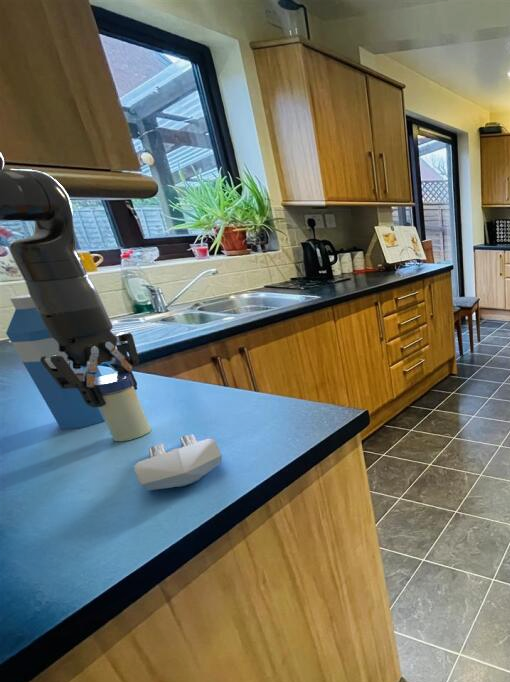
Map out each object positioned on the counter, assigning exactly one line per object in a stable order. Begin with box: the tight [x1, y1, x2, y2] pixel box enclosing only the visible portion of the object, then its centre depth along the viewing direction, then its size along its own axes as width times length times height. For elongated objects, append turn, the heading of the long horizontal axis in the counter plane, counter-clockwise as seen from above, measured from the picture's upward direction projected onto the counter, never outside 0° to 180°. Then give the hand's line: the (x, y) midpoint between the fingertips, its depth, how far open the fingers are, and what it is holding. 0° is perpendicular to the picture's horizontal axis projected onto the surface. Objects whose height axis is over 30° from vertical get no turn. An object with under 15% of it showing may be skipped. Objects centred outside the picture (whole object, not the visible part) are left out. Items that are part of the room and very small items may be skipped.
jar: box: [99, 386, 152, 442], centre depth 73 cm, size 5×5×10 cm
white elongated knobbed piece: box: [133, 433, 222, 491], centre depth 64 cm, size 10×20×5 cm, turn 45°
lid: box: [94, 373, 134, 395], centre depth 71 cm, size 6×6×2 cm
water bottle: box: [5, 294, 105, 430], centre depth 77 cm, size 9×9×25 cm
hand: (115, 397), depth 72 cm, fingers closed on lid, 6 cm apart
